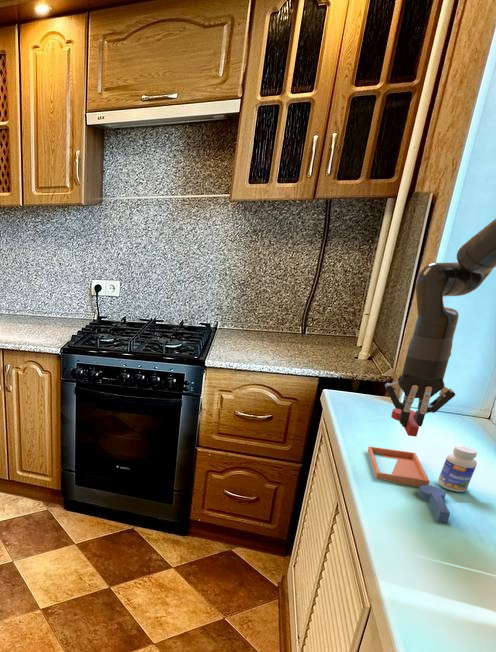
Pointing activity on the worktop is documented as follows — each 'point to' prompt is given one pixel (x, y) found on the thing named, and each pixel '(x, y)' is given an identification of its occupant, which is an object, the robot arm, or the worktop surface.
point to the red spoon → (411, 425)
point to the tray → (400, 467)
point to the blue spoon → (435, 501)
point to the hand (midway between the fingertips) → (409, 426)
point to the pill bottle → (458, 469)
